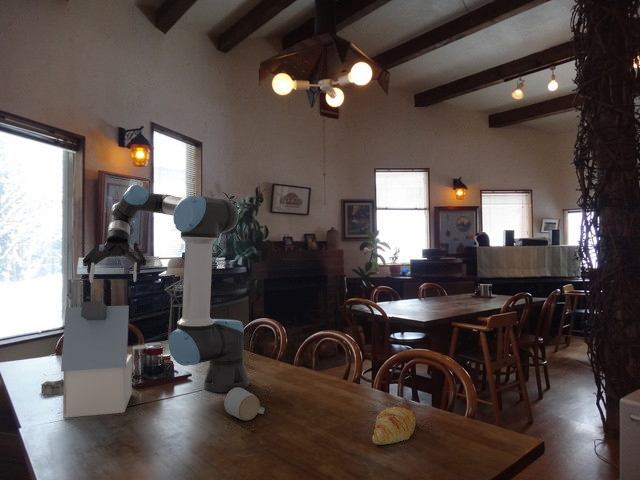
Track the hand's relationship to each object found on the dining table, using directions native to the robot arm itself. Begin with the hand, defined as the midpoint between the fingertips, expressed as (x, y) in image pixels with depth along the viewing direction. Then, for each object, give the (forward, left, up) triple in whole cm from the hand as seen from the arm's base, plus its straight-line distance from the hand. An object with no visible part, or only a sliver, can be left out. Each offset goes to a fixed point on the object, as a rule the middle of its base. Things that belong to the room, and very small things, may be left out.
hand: (113, 279), depth 156 cm
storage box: (-2, +14, -38) cm, 40 cm away
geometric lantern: (-7, -63, -38) cm, 74 cm away
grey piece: (+18, -1, -38) cm, 42 cm away
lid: (-4, +20, -16) cm, 26 cm away
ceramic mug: (-48, +24, -38) cm, 66 cm away
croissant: (-88, +38, -38) cm, 103 cm away
